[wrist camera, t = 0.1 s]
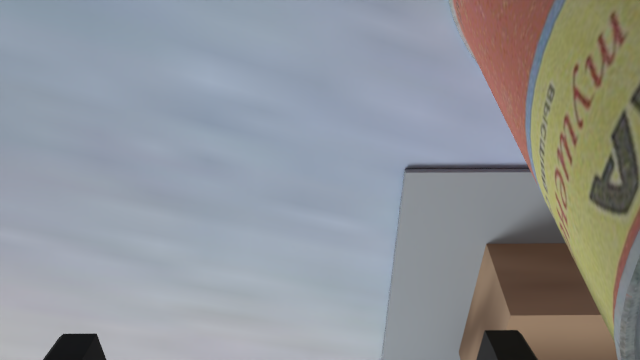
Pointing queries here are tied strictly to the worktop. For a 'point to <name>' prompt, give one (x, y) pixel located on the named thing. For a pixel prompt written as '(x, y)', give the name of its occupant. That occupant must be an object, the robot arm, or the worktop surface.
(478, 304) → the walnut slab
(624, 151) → the canned food
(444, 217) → the light gray board
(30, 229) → the worktop surface
